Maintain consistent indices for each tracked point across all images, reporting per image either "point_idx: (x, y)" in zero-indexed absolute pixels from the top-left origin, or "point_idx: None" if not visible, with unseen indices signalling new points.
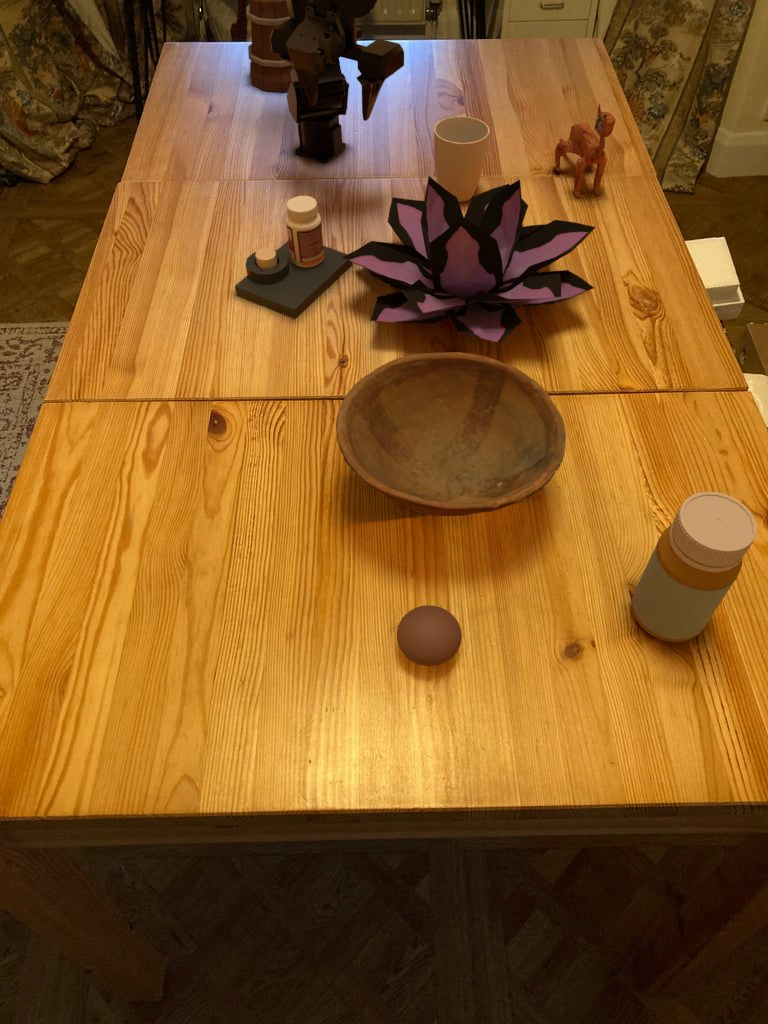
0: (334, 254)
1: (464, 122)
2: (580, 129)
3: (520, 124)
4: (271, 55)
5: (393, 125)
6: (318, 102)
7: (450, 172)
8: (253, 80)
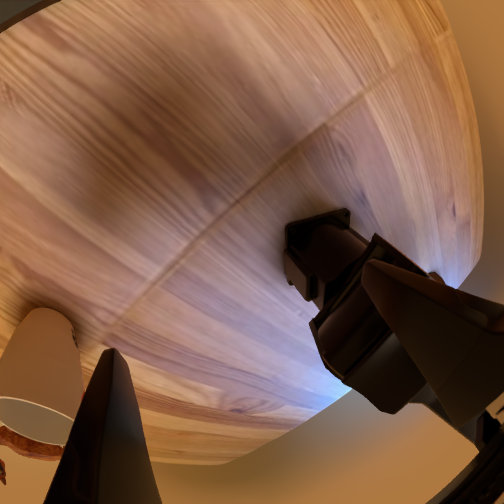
0: (6, 8)
1: None
2: (40, 456)
3: (156, 427)
4: None
5: (266, 353)
6: (363, 297)
7: (9, 346)
8: (436, 275)
